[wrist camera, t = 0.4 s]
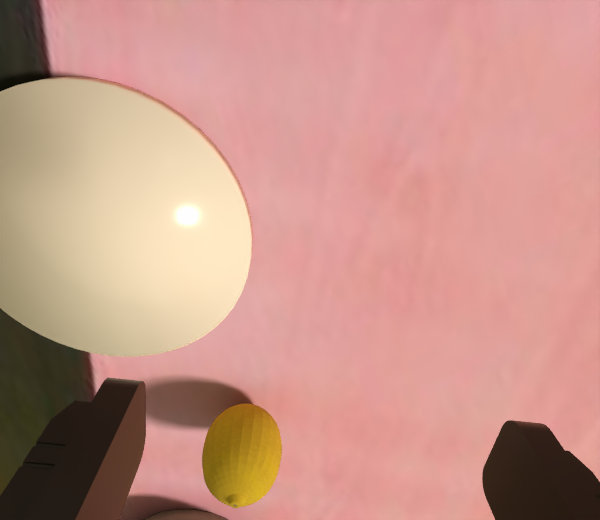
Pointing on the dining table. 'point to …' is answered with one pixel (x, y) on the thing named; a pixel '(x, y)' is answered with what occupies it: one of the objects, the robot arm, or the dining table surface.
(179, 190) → the saucer
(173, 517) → the pie
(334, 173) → the dining table surface
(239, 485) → the lemon
